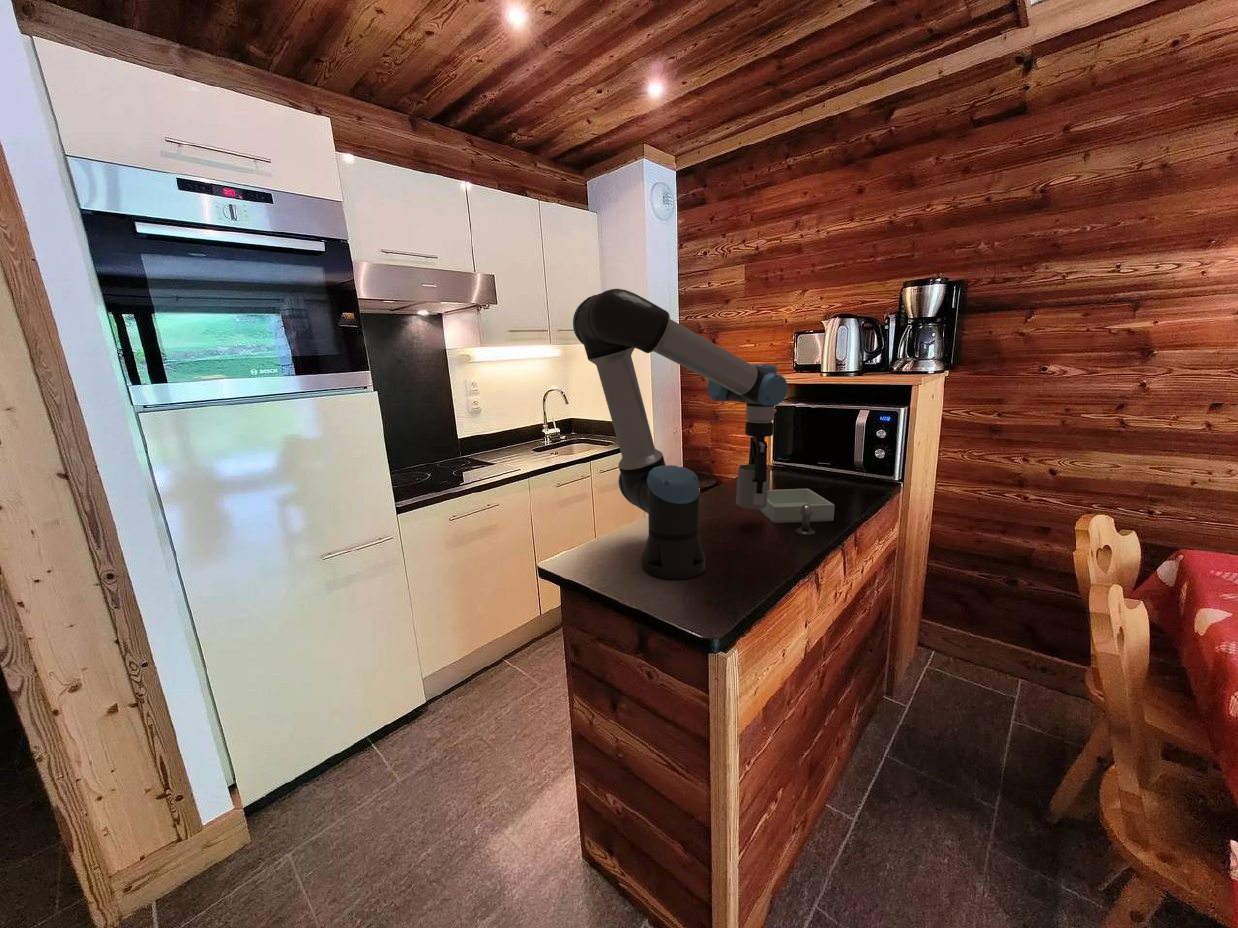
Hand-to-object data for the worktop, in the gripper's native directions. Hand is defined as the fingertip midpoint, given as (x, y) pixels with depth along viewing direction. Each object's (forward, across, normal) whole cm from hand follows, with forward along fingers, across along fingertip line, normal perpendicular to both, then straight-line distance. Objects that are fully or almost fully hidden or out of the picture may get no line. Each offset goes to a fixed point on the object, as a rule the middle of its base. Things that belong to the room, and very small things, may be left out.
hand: (755, 499), depth 137 cm
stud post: (+8, -3, -14) cm, 16 cm away
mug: (+2, +1, 0) cm, 2 cm away
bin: (+8, +14, -14) cm, 21 cm away
